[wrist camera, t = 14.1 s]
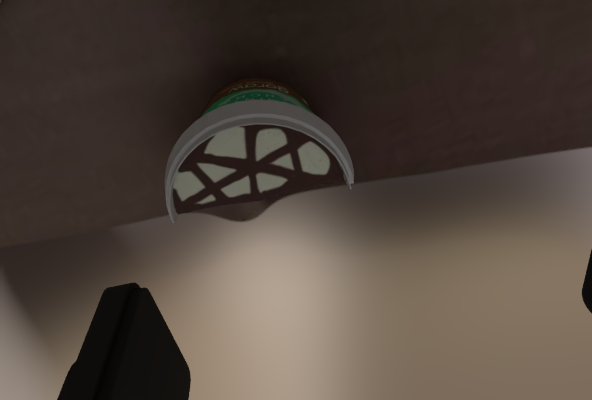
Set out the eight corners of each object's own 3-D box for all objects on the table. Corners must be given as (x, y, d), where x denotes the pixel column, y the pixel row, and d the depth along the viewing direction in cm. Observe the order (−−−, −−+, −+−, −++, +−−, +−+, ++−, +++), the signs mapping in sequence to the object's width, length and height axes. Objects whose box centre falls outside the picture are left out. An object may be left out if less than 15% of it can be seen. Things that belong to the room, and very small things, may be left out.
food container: (323, 45, 32) (349, 92, 24) (334, 122, 36) (360, 187, 27) (158, 79, 33) (126, 137, 24) (184, 152, 36) (164, 226, 28)
